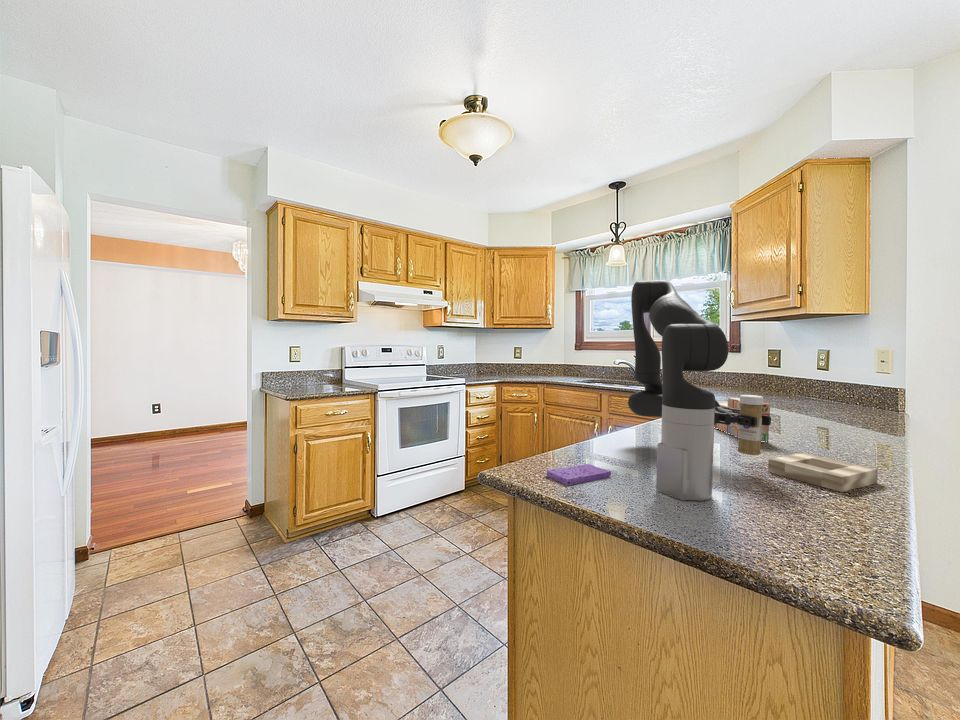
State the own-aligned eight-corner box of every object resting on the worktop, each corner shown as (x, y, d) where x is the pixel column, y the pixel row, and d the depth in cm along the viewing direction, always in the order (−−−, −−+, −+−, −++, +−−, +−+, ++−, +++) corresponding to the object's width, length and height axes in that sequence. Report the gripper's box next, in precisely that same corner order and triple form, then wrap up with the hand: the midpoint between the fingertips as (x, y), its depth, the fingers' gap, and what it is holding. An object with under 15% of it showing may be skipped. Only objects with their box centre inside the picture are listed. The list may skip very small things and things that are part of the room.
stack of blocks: (712, 428, 144) (713, 394, 144) (730, 428, 144) (732, 394, 143) (747, 442, 123) (749, 402, 123) (769, 443, 123) (770, 403, 122)
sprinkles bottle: (736, 453, 93) (738, 395, 93) (739, 449, 97) (741, 393, 96) (760, 457, 90) (762, 397, 90) (762, 453, 94) (764, 395, 94)
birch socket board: (841, 491, 81) (842, 477, 81) (768, 471, 94) (768, 458, 94) (877, 482, 87) (877, 469, 87) (803, 465, 100) (803, 453, 100)
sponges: (546, 478, 89) (546, 469, 89) (589, 470, 95) (589, 462, 95) (567, 487, 83) (567, 479, 83) (611, 479, 89) (611, 470, 89)
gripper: (676, 397, 103) (743, 406, 88) (713, 395, 109) (783, 403, 94) (675, 426, 104) (742, 440, 88) (712, 423, 110) (781, 436, 94)
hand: (762, 421), depth 91 cm, fingers closed on sprinkles bottle, 4 cm apart
